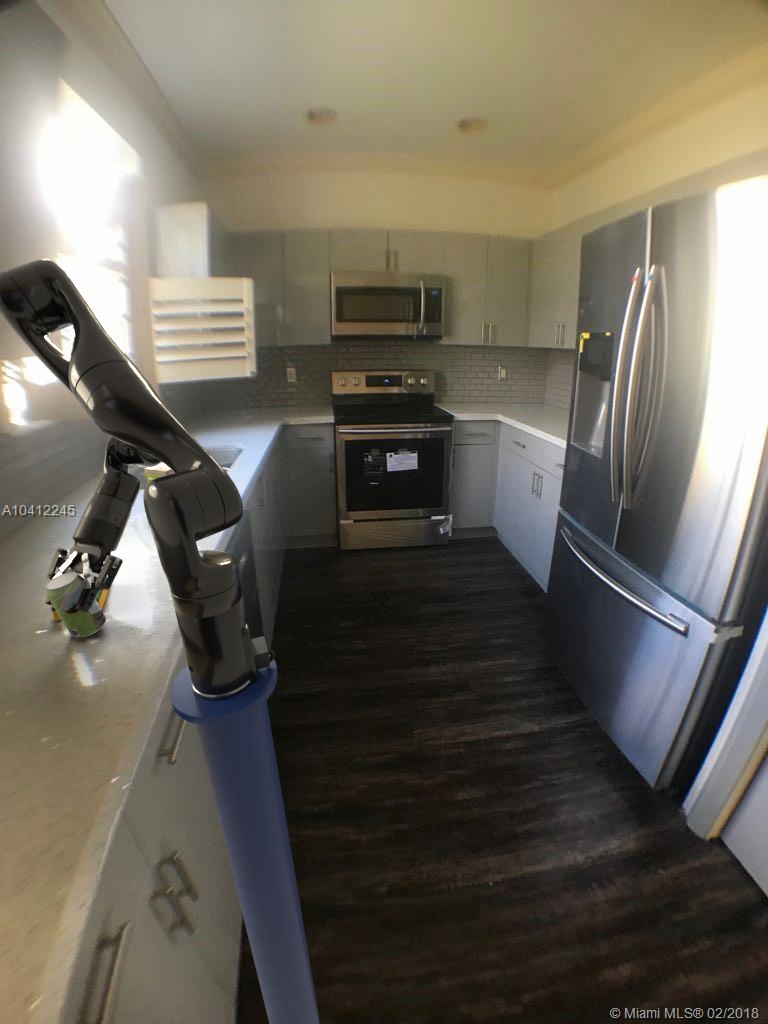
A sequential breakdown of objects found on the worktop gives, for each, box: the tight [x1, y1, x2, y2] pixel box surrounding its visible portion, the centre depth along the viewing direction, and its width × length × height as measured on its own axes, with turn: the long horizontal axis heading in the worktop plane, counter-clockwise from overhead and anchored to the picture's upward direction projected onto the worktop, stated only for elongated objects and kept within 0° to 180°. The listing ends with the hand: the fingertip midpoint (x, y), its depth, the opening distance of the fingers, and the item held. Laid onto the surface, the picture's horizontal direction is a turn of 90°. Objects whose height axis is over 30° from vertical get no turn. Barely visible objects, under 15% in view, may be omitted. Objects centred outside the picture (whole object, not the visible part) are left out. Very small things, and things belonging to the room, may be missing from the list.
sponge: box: [50, 575, 109, 622], centre depth 95 cm, size 8×11×3 cm
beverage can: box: [45, 572, 107, 638], centre depth 84 cm, size 6×7×12 cm
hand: (66, 607), depth 82 cm, fingers open, 6 cm apart
